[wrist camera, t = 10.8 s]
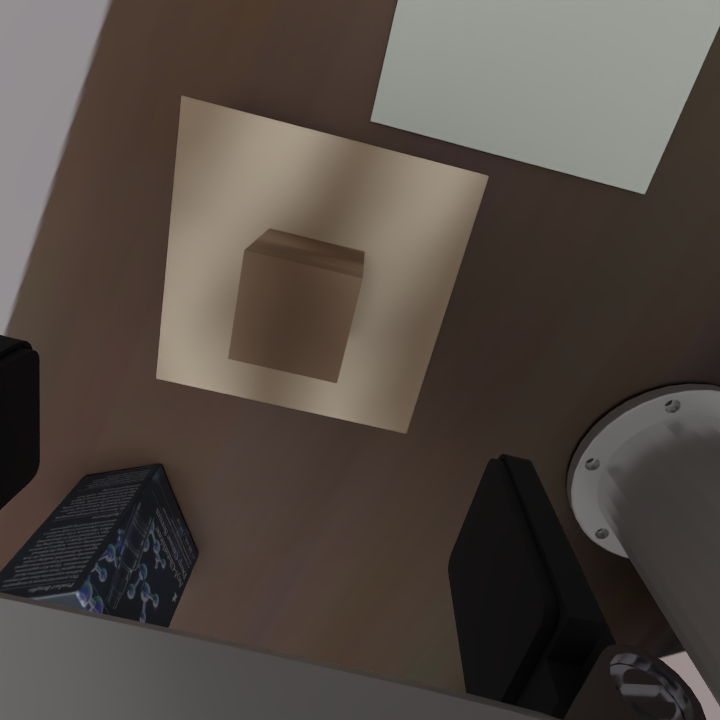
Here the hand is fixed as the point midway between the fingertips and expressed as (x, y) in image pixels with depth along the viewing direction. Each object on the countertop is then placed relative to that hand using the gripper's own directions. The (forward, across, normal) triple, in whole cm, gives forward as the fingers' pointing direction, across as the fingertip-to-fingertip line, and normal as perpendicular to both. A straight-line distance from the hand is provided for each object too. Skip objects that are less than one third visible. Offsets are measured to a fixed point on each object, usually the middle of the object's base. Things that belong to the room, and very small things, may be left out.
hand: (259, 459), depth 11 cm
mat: (+18, -7, -14) cm, 24 cm away
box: (+19, +9, +20) cm, 29 cm away
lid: (+13, +1, 0) cm, 13 cm away
